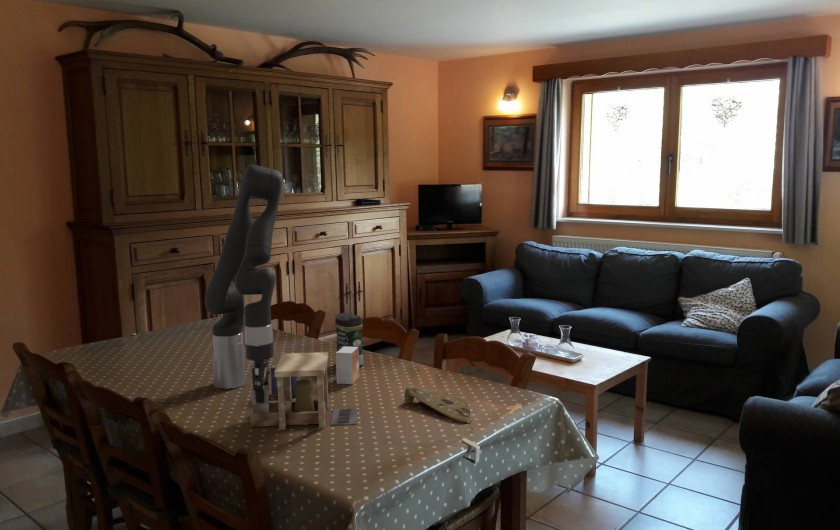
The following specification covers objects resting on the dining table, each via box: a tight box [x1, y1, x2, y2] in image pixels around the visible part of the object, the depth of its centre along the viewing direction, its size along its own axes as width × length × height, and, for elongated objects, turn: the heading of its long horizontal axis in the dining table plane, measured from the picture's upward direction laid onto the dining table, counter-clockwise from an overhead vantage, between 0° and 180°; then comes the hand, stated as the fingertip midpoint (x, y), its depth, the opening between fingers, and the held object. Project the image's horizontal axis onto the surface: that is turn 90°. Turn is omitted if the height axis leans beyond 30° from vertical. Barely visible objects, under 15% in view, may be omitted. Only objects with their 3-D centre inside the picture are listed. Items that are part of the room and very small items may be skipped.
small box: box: [335, 346, 360, 385], centre depth 219 cm, size 8×6×10 cm
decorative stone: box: [403, 386, 471, 423], centre depth 194 cm, size 25×15×5 cm, turn 40°
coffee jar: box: [334, 312, 364, 368], centre depth 235 cm, size 10×8×19 cm
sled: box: [249, 385, 327, 427], centre depth 186 cm, size 20×11×9 cm, turn 94°
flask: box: [270, 363, 300, 398], centre depth 205 cm, size 9×3×11 cm, turn 74°
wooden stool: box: [274, 351, 358, 431], centre depth 186 cm, size 21×17×16 cm
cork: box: [294, 378, 315, 412], centre depth 186 cm, size 6×6×11 cm
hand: (262, 397), depth 185 cm, fingers open, 8 cm apart
